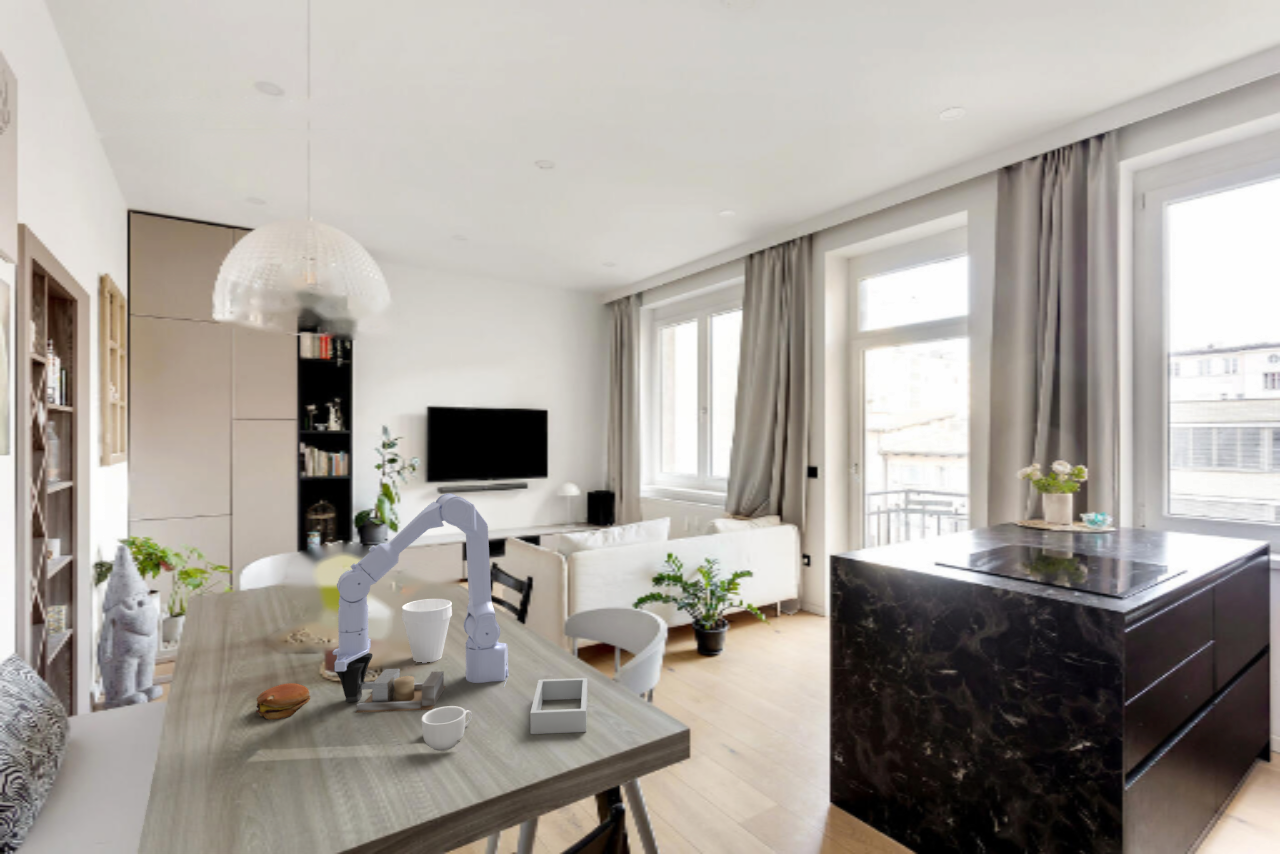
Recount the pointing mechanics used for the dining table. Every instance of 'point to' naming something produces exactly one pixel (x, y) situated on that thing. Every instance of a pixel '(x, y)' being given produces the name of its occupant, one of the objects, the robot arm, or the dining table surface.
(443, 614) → the white plant pot
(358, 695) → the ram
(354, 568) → the robot arm
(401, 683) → the nut
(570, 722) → the box
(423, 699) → the bench
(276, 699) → the burger
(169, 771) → the dining table surface
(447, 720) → the teacup
